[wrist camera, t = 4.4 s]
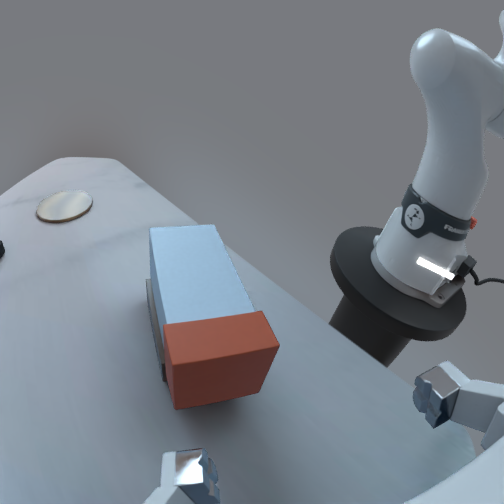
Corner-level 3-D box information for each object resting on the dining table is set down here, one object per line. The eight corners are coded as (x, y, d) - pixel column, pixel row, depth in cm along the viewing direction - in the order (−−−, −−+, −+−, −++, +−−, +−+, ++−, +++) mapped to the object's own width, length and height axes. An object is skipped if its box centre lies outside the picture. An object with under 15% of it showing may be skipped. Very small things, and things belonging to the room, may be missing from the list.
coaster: (95, 190, 47) (94, 187, 47) (89, 220, 40) (89, 217, 39) (44, 195, 43) (43, 192, 43) (30, 225, 36) (30, 222, 36)
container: (210, 275, 32) (217, 221, 28) (258, 393, 22) (280, 345, 18) (147, 280, 29) (145, 225, 25) (174, 410, 19) (171, 365, 15)
